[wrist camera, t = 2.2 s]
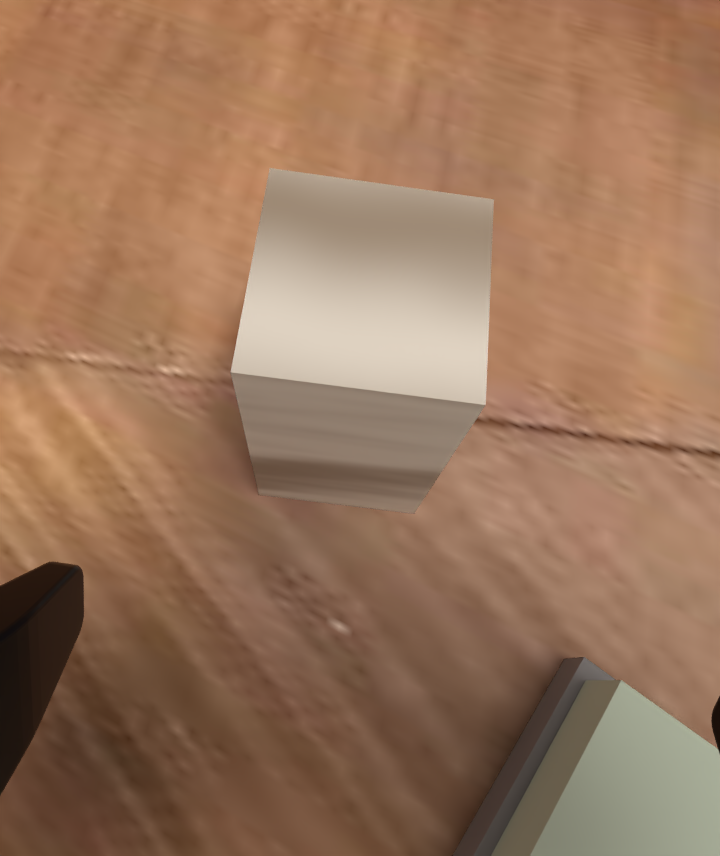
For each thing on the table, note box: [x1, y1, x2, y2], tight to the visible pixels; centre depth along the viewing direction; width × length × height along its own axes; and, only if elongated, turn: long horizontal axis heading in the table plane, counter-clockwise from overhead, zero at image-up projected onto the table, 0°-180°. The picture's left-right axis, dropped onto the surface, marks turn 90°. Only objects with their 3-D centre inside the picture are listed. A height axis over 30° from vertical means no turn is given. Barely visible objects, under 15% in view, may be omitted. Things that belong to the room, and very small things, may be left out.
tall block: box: [231, 168, 494, 514], centre depth 20 cm, size 6×6×10 cm
